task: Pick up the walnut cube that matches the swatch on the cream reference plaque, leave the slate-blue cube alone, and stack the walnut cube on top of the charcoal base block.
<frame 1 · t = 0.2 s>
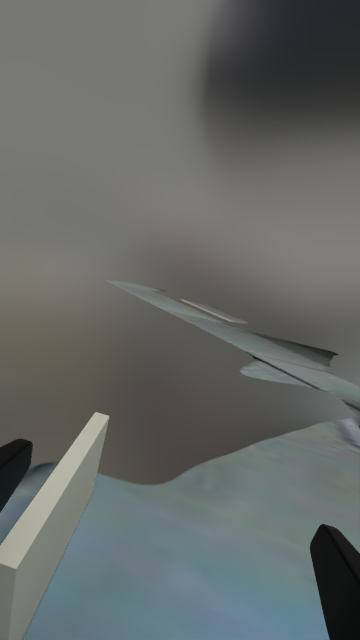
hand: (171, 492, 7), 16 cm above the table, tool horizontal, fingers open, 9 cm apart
reference plaque: (52, 558, 18), on the table
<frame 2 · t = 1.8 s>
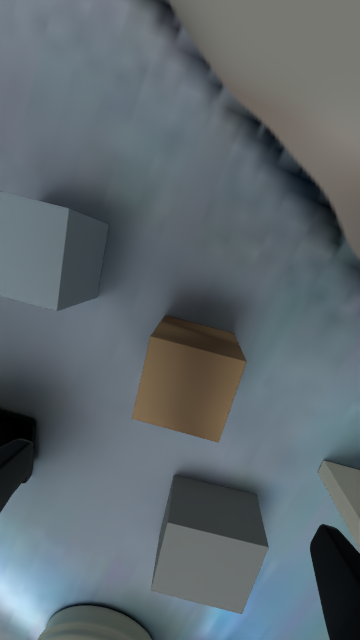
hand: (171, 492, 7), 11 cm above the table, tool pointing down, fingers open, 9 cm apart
base block: (205, 513, 21), on the table
slate blue cube: (68, 253, 17), on the table
walnut cube: (190, 355, 18), on the table
jar: (101, 639, 26), on the table
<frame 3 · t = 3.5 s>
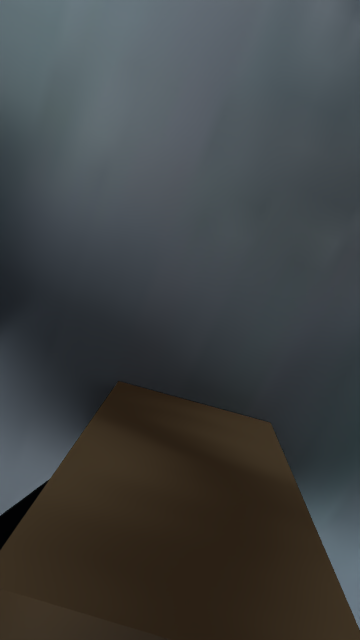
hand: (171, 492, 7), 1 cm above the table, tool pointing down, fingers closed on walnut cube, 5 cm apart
walnut cube: (175, 463, 8), on the table, touching gripper
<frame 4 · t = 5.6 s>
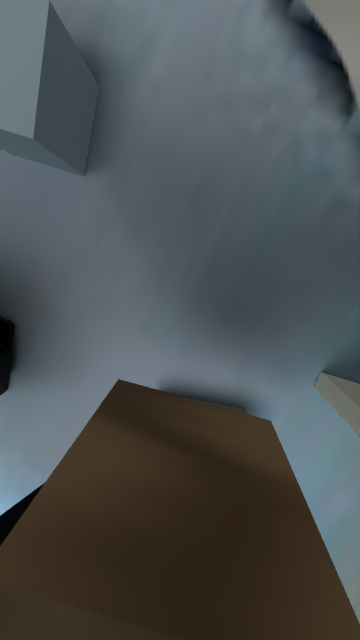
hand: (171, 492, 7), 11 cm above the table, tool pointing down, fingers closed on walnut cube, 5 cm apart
slate blue cube: (54, 122, 15), on the table
walnut cube: (175, 462, 8), point 10 cm above the table, touching gripper
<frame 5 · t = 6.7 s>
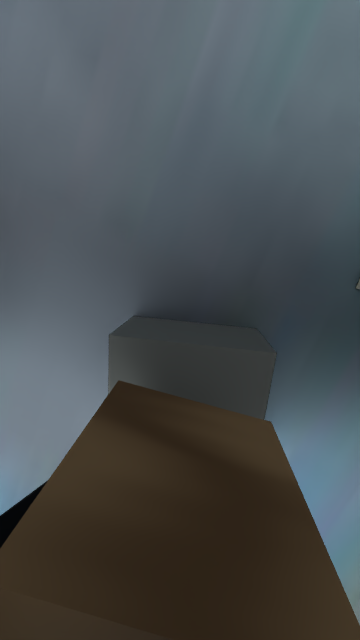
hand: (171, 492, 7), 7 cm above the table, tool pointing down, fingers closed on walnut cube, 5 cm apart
base block: (188, 376, 15), on the table
walnut cube: (175, 463, 8), point 6 cm above the table, touching gripper
when the fingers open (6 cm above the table, at t = 7.6 s): walnut cube drops 2 cm, point 4 cm above the table.
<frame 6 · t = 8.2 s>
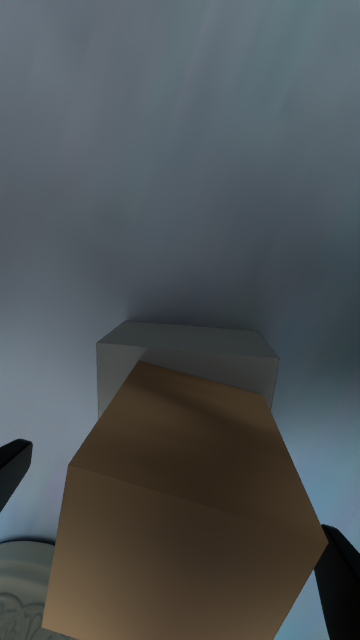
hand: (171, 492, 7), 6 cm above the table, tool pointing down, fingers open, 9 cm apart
base block: (186, 383, 14), on the table
walnut cube: (184, 430, 10), point 4 cm above the table
jar: (47, 594, 19), on the table
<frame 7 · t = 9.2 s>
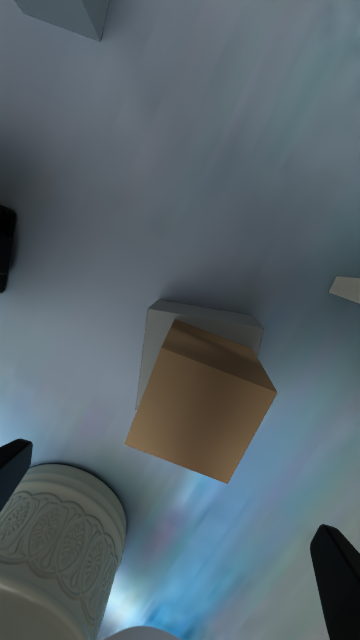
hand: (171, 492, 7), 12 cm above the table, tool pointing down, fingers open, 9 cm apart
base block: (196, 349, 19), on the table, touching walnut cube
walnut cube: (198, 369, 15), point 4 cm above the table, touching base block
jar: (67, 511, 24), on the table
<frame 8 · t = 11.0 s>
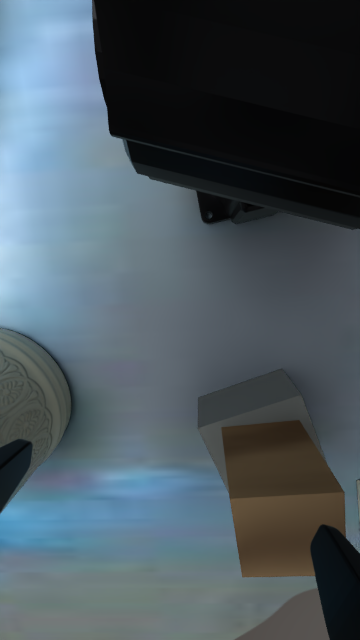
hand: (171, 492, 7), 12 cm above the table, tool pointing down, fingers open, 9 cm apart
base block: (253, 417, 20), on the table, touching walnut cube
walnut cube: (263, 455, 16), point 4 cm above the table, touching base block
jar: (7, 392, 22), on the table
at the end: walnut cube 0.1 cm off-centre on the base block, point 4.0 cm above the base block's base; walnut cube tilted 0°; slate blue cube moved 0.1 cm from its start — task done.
